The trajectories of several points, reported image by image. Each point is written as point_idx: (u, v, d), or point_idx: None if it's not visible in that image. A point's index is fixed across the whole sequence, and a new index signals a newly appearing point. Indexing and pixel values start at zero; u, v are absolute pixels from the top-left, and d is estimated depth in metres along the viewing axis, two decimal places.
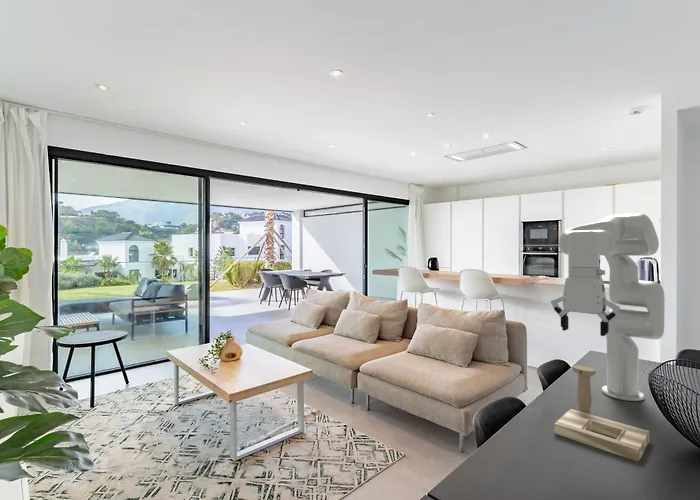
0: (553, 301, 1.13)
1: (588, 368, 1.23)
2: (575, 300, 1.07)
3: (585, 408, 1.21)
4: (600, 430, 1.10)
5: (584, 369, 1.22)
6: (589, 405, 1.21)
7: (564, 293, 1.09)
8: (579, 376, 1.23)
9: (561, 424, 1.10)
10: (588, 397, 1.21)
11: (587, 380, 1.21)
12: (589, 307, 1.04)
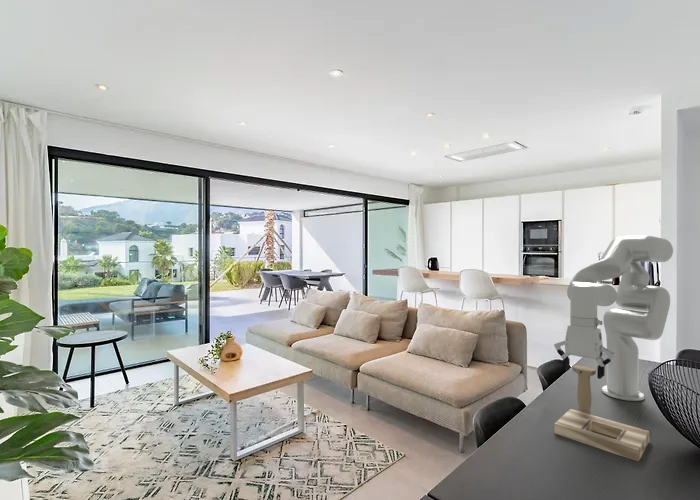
0: (556, 344, 1.28)
1: (588, 368, 1.23)
2: (575, 345, 1.22)
3: (585, 408, 1.21)
4: (600, 430, 1.10)
5: (584, 369, 1.22)
6: (589, 405, 1.21)
7: (566, 338, 1.25)
8: (579, 376, 1.23)
9: (561, 424, 1.10)
10: (588, 397, 1.21)
11: (587, 380, 1.21)
12: (588, 352, 1.20)
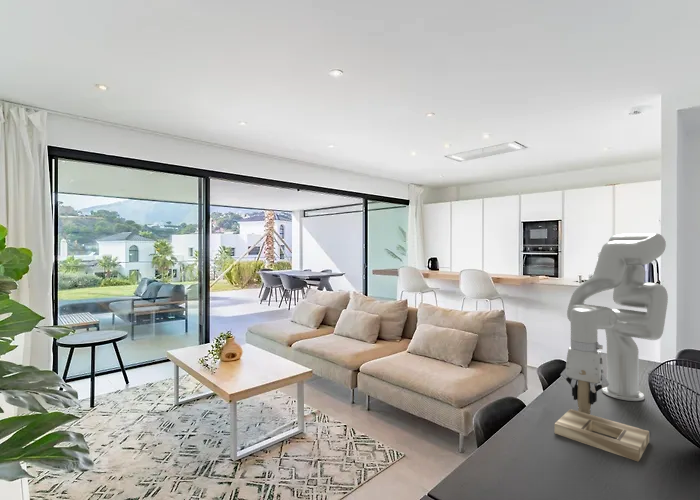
0: (562, 373, 1.27)
1: None
2: (576, 369, 1.22)
3: (585, 408, 1.21)
4: (600, 430, 1.10)
5: None
6: (589, 405, 1.21)
7: (567, 362, 1.25)
8: None
9: (561, 424, 1.10)
10: (588, 397, 1.21)
11: None
12: (589, 377, 1.20)
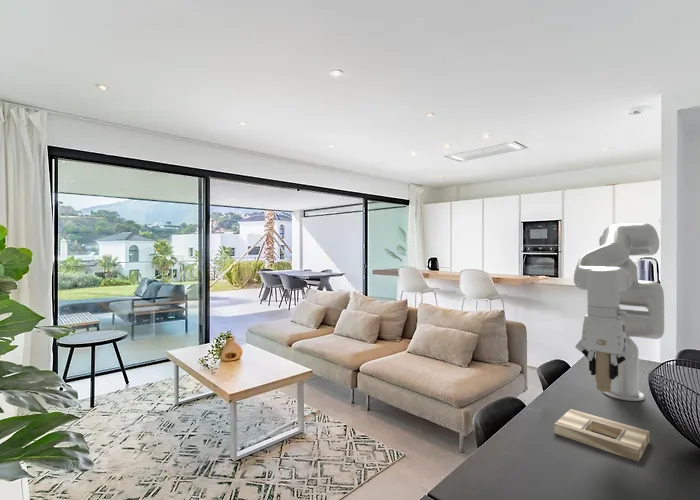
0: (577, 345, 1.10)
1: None
2: (594, 339, 1.06)
3: (605, 384, 1.05)
4: (600, 430, 1.10)
5: None
6: (609, 380, 1.04)
7: (583, 331, 1.08)
8: None
9: (561, 424, 1.10)
10: (608, 371, 1.04)
11: None
12: (609, 347, 1.03)
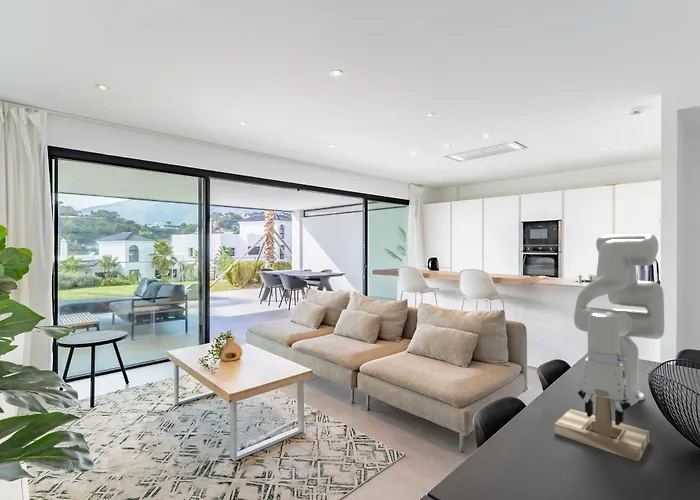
0: (575, 385, 1.11)
1: None
2: (594, 384, 1.06)
3: (605, 434, 1.05)
4: None
5: None
6: (610, 431, 1.05)
7: (583, 375, 1.08)
8: (597, 397, 1.06)
9: (561, 424, 1.10)
10: (608, 421, 1.04)
11: (607, 402, 1.05)
12: (609, 393, 1.03)
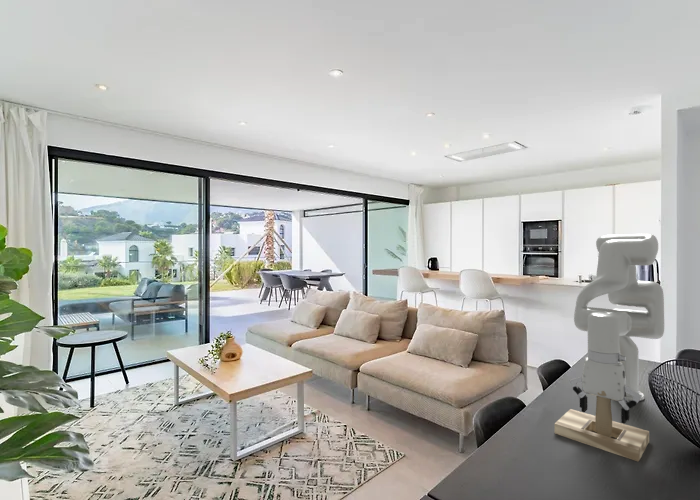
0: (572, 380, 1.12)
1: None
2: (594, 384, 1.06)
3: (605, 434, 1.05)
4: None
5: None
6: (610, 431, 1.05)
7: (583, 375, 1.08)
8: (598, 397, 1.06)
9: (561, 424, 1.10)
10: (609, 421, 1.04)
11: (608, 401, 1.05)
12: (610, 393, 1.03)
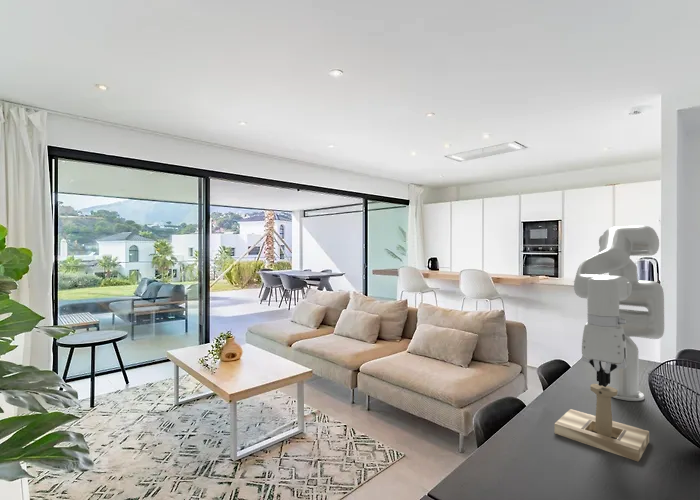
0: (583, 357, 1.09)
1: (608, 388, 1.06)
2: (594, 348, 1.06)
3: (605, 434, 1.05)
4: None
5: (604, 389, 1.05)
6: (610, 431, 1.05)
7: (583, 340, 1.08)
8: (598, 397, 1.06)
9: (561, 424, 1.10)
10: (609, 421, 1.04)
11: (608, 402, 1.05)
12: (609, 356, 1.03)
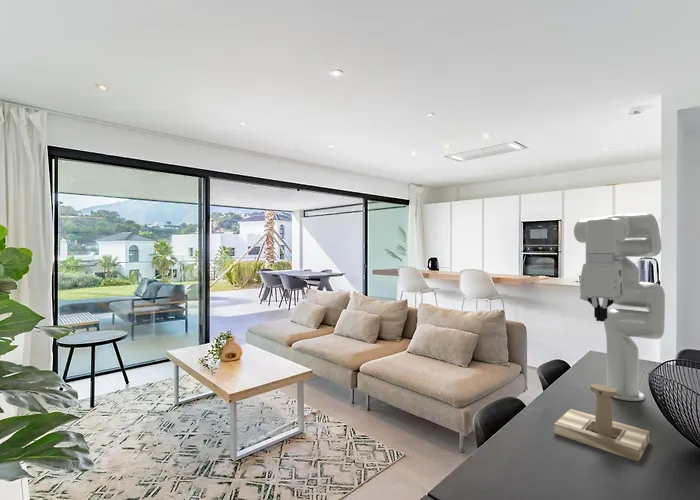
0: (581, 296, 1.15)
1: (608, 388, 1.06)
2: (592, 285, 1.11)
3: (605, 434, 1.05)
4: None
5: (604, 389, 1.05)
6: (610, 431, 1.05)
7: (581, 279, 1.13)
8: (598, 397, 1.06)
9: (561, 424, 1.10)
10: (609, 421, 1.04)
11: (608, 402, 1.05)
12: (606, 292, 1.08)
